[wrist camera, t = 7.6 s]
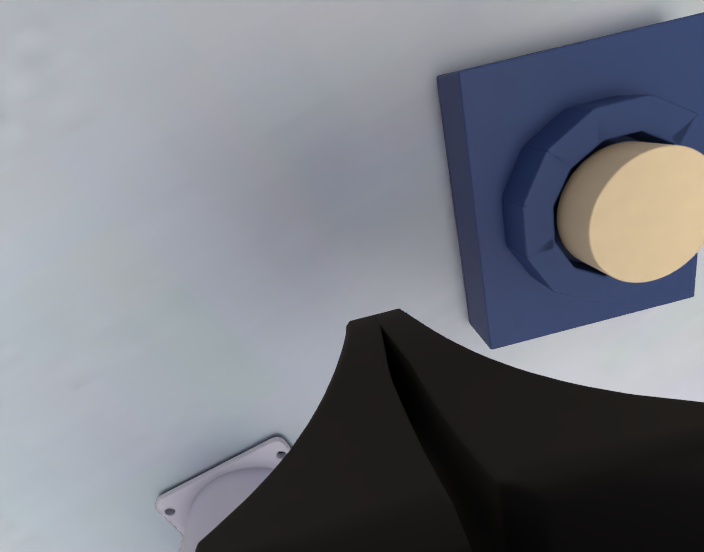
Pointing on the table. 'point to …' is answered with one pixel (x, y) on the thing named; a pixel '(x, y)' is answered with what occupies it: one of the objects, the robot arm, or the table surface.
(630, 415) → the robot arm
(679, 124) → the button base
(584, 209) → the disc
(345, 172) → the table surface
